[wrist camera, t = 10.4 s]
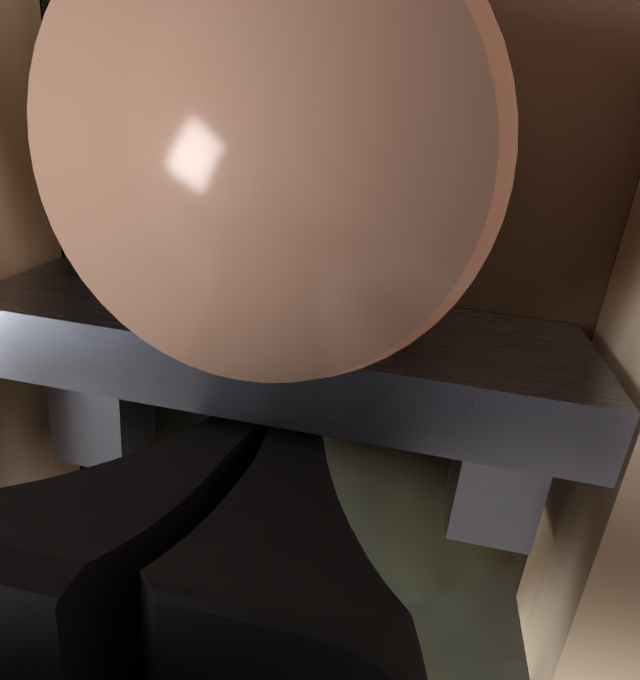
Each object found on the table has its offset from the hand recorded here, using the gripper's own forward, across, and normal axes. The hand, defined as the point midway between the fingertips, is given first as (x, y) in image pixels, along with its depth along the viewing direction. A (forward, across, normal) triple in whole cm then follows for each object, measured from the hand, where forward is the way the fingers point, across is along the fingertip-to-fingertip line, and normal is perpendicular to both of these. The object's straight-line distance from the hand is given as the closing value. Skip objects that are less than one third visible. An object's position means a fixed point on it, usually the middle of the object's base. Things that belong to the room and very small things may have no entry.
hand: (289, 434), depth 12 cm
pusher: (+1, 0, -1) cm, 1 cm away
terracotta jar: (+1, 0, -6) cm, 6 cm away
